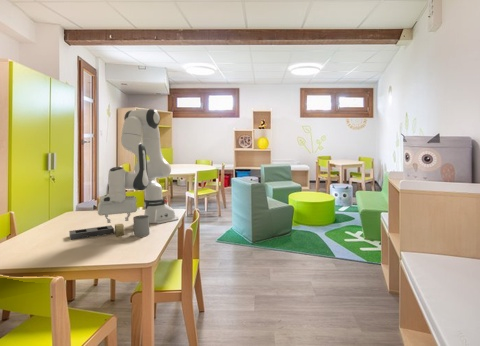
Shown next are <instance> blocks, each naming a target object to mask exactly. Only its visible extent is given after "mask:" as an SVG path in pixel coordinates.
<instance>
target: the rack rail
mask: <svg viewBox="0 0 480 346" xmlns="http://www.w3.org/2000/svg"><path fill="white" fill-rule="evenodd" d="M68 232H69V238H70V241H73V240H80V239H81V240H82V239H86V238H87V239H88V238H93V237H101V236H107V235H115V227H113V226H112V224H111V225H104V226H97V227H96V226H95V227H87V228H82V229H81V228H80V229H74V230H69V231H68Z"/></svg>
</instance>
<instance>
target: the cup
mask: <svg viewBox="0 0 480 346" xmlns="http://www.w3.org/2000/svg"><path fill="white" fill-rule="evenodd" d="M132 220H133V236H134V237H136V236H137V237H138V238H139V237H142V238H143V237H147V236H149V235H150V234H151V233H150V232H151V231H150V223H149V216H147V215H143V214H140V215H135V216H133V219H132Z"/></svg>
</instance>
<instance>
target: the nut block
mask: <svg viewBox="0 0 480 346" xmlns="http://www.w3.org/2000/svg"><path fill="white" fill-rule="evenodd" d="M114 236H115V237H116V238H118V237H124V236H125V227H124V224H123V223H116V224H114Z"/></svg>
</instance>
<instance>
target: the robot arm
mask: <svg viewBox="0 0 480 346" xmlns="http://www.w3.org/2000/svg"><path fill="white" fill-rule="evenodd" d="M123 119H124V122H123V125H122V131H121V137H120V143H121V146H122V147H123V148H124V149H125V150H127V151H128V152H131V153H132V154H133V155H135V157H136V163H135V164H134V168H133V172H130V171H127V170H125V168H124V167H123V166H114V167H111V168H110V169H109V170H108V175H107V183H108V192H107V194H104V195H101V196H99V202H98V204H97V215H98V216H104V217H105V219H106V223H107V224H111V219H110V218H108V217H109V216H110V215H111V216H112V215H121V214H126V215H127V216H126V217H124V221H125V222H129V218H130V216H131V214H133V213H137V211H138V207H137V201H138V199H137V197H136V196H135V195H127V194H126V191H127V190H135V191H139V192H142V191H143V192H144V200H143V201H144V202H143V207H144V212H143V213H144V215H147V216H149V224H163V223H169V222H174V221H179V219H180V218H179V216H178V215H176V214H175V210H174V208H172V207H171V206H170V205H168V204H167V203H168V199H165V198H163V187H162V185H161V184H160V183H158V181H157V179H164V178H167V177H169V176H170V175H171V172H172V167H171V164H170V163H169V162H168V161H167V160H166V159H165V157H164V155H163V153H162V147H161V134H160V128H159V125H160V122H161V115H160V113H159V112H158V110H157V109H154V108H153V109H152V108H149V109H148V108H140V109H131V110H128V111H127V112H125V114H124V117H123ZM147 157H148V159H147Z"/></svg>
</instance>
